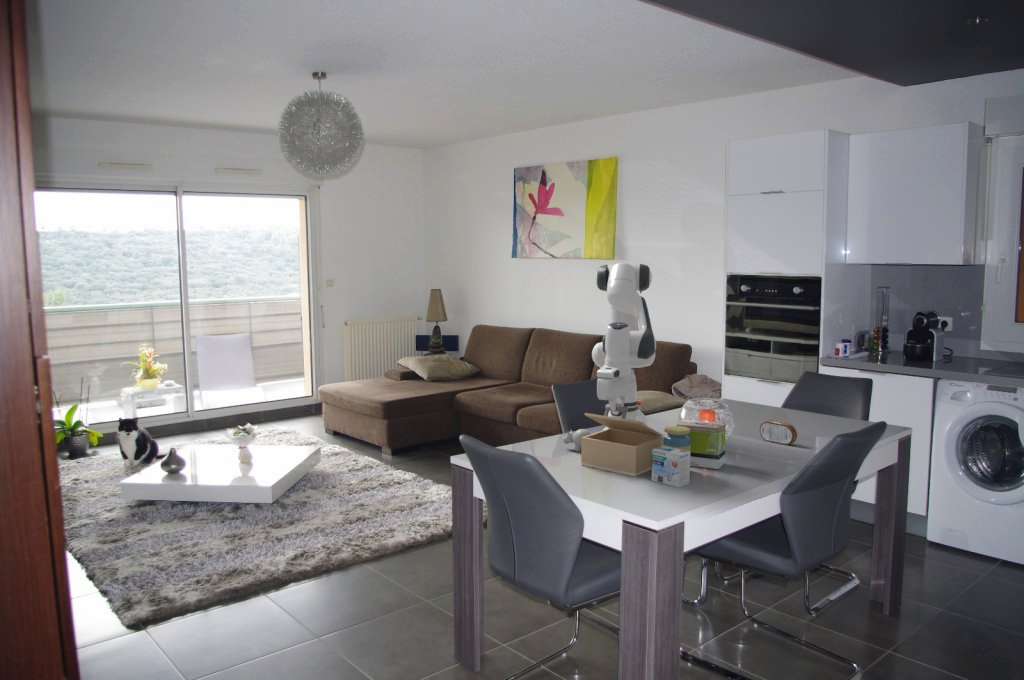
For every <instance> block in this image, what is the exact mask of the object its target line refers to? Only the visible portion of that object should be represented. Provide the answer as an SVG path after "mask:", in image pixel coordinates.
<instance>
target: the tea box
mask: <svg viewBox="0 0 1024 680" xmlns="http://www.w3.org/2000/svg"><path fill="white" fill-rule="evenodd" d="M676 426H683V427H687V428H690V433H689V434H687V435H688V436H690V437H691V450H690V467H697V468H698V467H700V468H705V469H712V470H718V469H720V468H721V467H722V466H723V465H724V464H725V463H726V423H725V422H715V421H706V420H705V421H704V420H702V421H701V420H692V419H684V420H682V421H680V422H679V423H677V424H676Z"/></svg>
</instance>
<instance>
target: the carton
mask: <svg viewBox="0 0 1024 680" xmlns="http://www.w3.org/2000/svg"><path fill="white" fill-rule="evenodd" d="M661 446H663V436H662V437H659V436H653V435H645V434H639V433H633V432H627V431H621V430H615V429H606V430H603V429H602V430H600V431H596V432H594V433H591V435H587V436H584V437H581V452H580V455H581V456H580V461H581V462H580V465H581V466H583V465H584V467H589V468H592V467H594V468H593V469H597V468H598V469H597V470H601V471H607V472H612V473H616V474H621V475H626V476H631V477H638V476H640V475H642V474H644V473H647V472H649V471H652V450H653V449H655V448H658V447H661Z"/></svg>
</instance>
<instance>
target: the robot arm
mask: <svg viewBox="0 0 1024 680" xmlns="http://www.w3.org/2000/svg"><path fill="white" fill-rule="evenodd" d="M596 270H597V271H596V272H595V275H594V281H595V284H596V286H597V289H599V290H600V291H602V292H606V295H607V297H606V298H607V301H608V303H609V304H610V305H609V306H610V309H609V310H610V311H609V312H610V313H609V314H610V317H609V321H610V322H609V324H608V325H607V326H606V331H605V334H604V335H603V337H602V341H601V342H597V343H596V344H595V345H594V346H593V348H592V351H591V358H592V361H593V362H594V364H595V365H596V366H597V367H599V369H597V371H596V377H597V380H596V396H597V398H598V400H600V401H601V400H602V401H608V403H607V404H609V405H611V410H613V411H611V410H609V414H608V416H609V417H616V418H621V417H622V413H623V412H617V411H615V410H617V406H623V407H628V412H627V413H626V417H625V419H629V420H635V421H640V422H642V423H643V424H645V425H647V426H648V417H647V416H646V415H645V414H644V413H643V412H642V411H641V410H640V408H639V406H642V403H643V401H642V400H639V399H637V391H638V389H637V388H638V387H637V379H636V374H635V372H634V371H635V370H634V369H635V368H640V369H641V368H645V367H650V366H651V365H653V363H654V361H655V359H656V350H657V341H656V337H655V335H654V331H653V327H652V323H651V317H650V314H649V308H648V305H647V301H646V299H645V298H644V296H642V295H641V293H642V292H644V291H646V290H648V289H649V288H650V286H651V284H652V280H653V275H652V271H651V269H650V266H649V265H647V264H642V263H640V264H635V263H628V262H624V261H623V262H618V263H615V264H609V265H608V264H603V265H600V266H599V267H598V268H597V269H596ZM638 292H639V293H638ZM604 427H605V428H603V429H602V431H603V430H606V429H611V428H608V427H606V426H604ZM649 427H650V428H652V429H654V428H653V427H651V426H649ZM615 430H617V429H615ZM621 431H623V430H621ZM627 432H629V431H627ZM633 433H635V432H633ZM639 434H641V433H639ZM645 435H647V434H645Z"/></svg>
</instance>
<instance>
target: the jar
mask: <svg viewBox="0 0 1024 680" xmlns="http://www.w3.org/2000/svg"><path fill="white" fill-rule="evenodd" d="M664 433H667V434H665V435H664V436H663V446H667V447H672V448H677V449H681V450H686V451H690V450H691V437H690V436H688V435H687V434H689V433H690V428H687V427H683V426H677V425H670V426H665V428H664Z"/></svg>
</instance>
